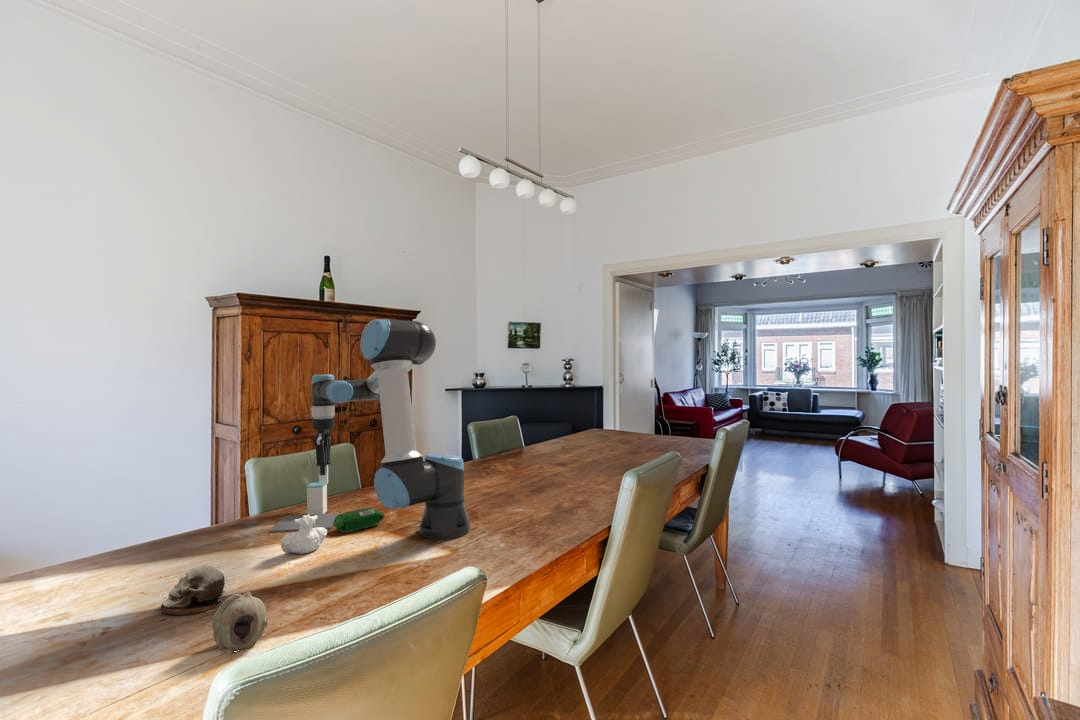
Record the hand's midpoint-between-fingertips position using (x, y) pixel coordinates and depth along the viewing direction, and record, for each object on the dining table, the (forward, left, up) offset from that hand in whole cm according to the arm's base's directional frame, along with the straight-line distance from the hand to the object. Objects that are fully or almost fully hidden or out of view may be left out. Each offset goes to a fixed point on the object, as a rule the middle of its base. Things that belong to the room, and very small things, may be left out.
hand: (323, 483), depth 176 cm
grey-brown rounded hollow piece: (-88, -10, -9) cm, 89 cm away
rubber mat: (-18, 0, -8) cm, 20 cm away
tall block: (-8, 0, -8) cm, 11 cm away
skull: (-70, +7, -9) cm, 71 cm away
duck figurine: (-43, -7, -9) cm, 45 cm away
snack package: (-25, -17, -9) cm, 32 cm away
